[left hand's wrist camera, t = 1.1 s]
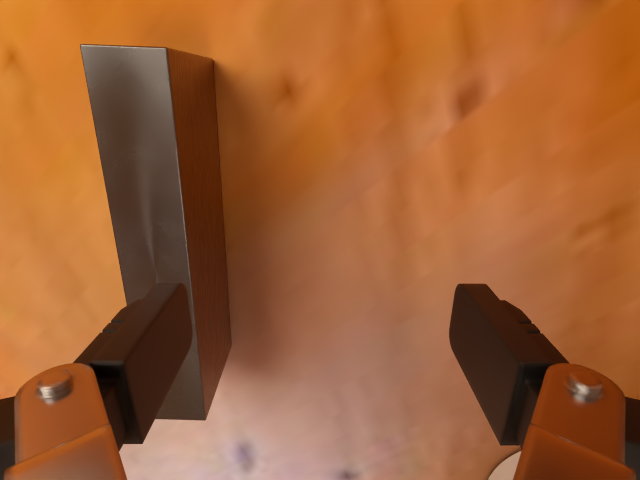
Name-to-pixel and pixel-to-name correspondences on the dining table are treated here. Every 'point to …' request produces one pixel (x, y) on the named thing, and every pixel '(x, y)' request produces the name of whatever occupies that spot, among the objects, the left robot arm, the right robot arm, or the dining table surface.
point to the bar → (166, 196)
